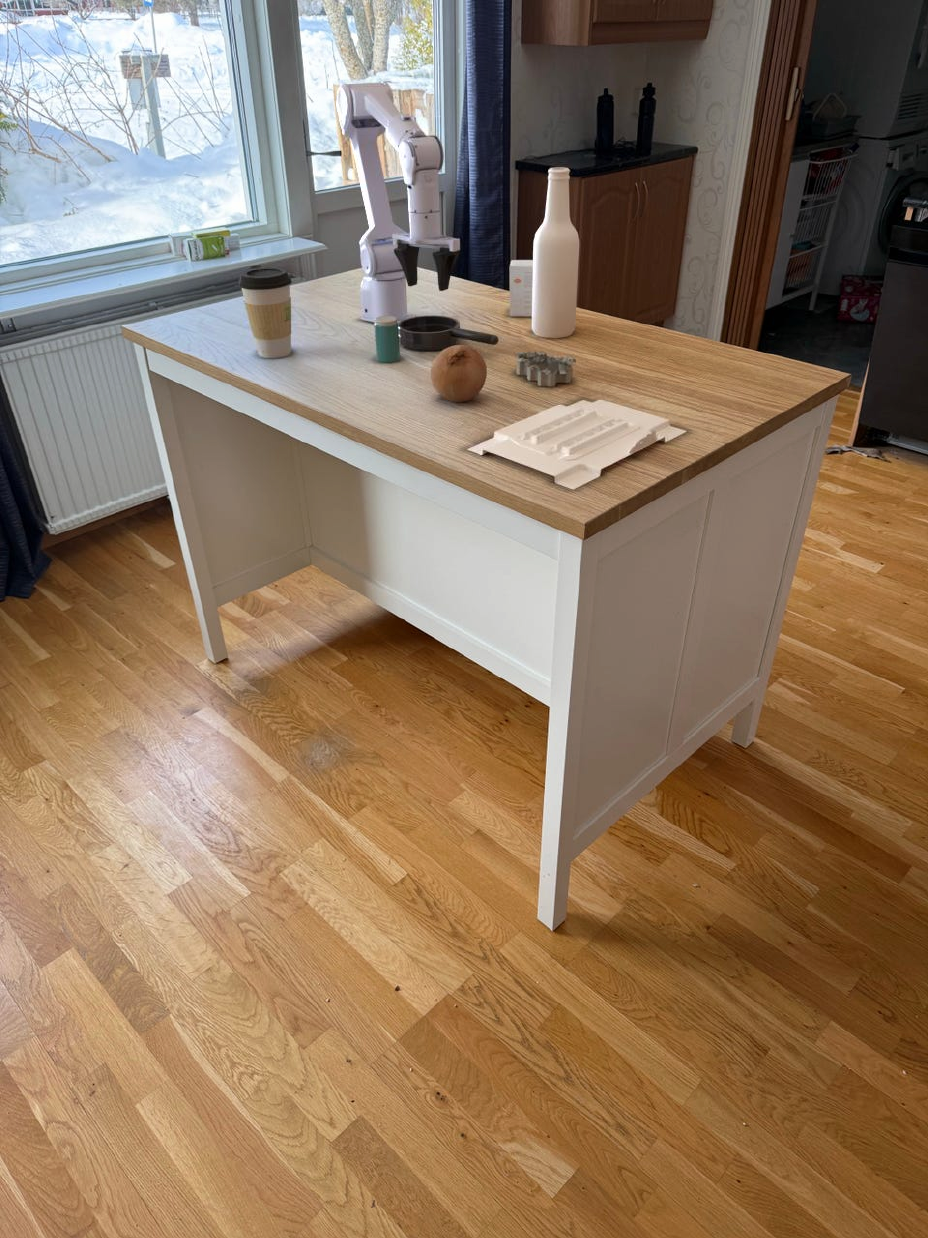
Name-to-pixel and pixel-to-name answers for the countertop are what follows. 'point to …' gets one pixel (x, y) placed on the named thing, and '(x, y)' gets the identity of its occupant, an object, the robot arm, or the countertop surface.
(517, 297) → the small box
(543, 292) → the alcohol
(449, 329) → the pan
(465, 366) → the onion
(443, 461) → the countertop surface
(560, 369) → the egg carton
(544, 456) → the tray
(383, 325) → the salt shaker
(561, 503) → the countertop surface
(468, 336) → the pan handle
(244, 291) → the coffee cup
